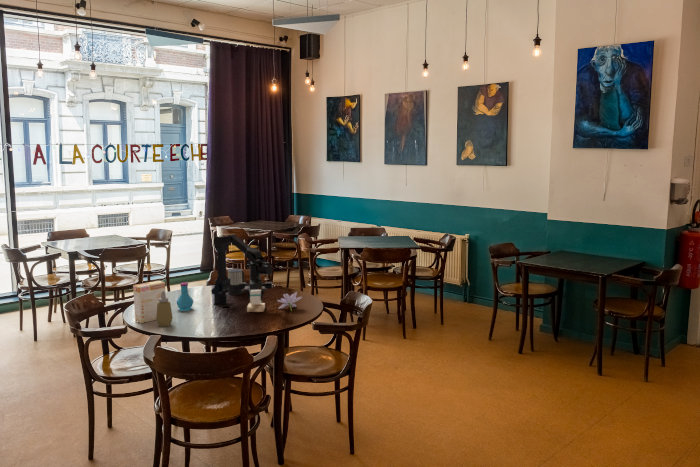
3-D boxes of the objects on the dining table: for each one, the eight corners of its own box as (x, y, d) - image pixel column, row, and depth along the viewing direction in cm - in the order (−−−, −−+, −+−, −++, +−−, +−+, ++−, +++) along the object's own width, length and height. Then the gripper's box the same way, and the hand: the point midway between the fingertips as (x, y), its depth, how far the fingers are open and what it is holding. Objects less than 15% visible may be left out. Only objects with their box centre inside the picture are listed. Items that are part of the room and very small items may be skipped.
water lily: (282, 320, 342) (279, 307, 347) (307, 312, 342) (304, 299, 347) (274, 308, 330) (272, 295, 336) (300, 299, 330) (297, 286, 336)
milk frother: (241, 295, 373) (240, 271, 371) (216, 295, 374) (215, 271, 371) (245, 289, 387) (245, 266, 385) (221, 289, 388) (220, 266, 385)
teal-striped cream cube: (250, 304, 336) (249, 292, 335) (251, 301, 342) (250, 289, 341) (260, 304, 337) (260, 292, 336) (261, 301, 342) (261, 289, 341)
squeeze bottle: (158, 323, 314) (156, 289, 312) (174, 323, 315) (172, 289, 312) (154, 328, 306) (153, 293, 304) (171, 327, 307) (169, 292, 304)
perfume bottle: (197, 308, 344) (196, 282, 342) (186, 312, 336) (185, 285, 333) (184, 306, 348) (183, 280, 345) (173, 310, 339) (172, 284, 337)
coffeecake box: (161, 315, 330) (159, 280, 327) (167, 317, 325) (165, 282, 322) (134, 320, 319) (132, 284, 316) (140, 323, 314) (138, 286, 311)
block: (247, 312, 335) (246, 307, 335) (249, 308, 344) (248, 303, 344) (263, 312, 336) (263, 307, 335) (265, 308, 345) (264, 302, 344)
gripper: (236, 276, 328) (237, 304, 331) (271, 275, 330) (271, 303, 332) (238, 272, 340) (239, 299, 342) (272, 271, 341) (272, 298, 343)
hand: (255, 300), depth 339 cm, fingers closed on teal-striped cream cube, 6 cm apart
